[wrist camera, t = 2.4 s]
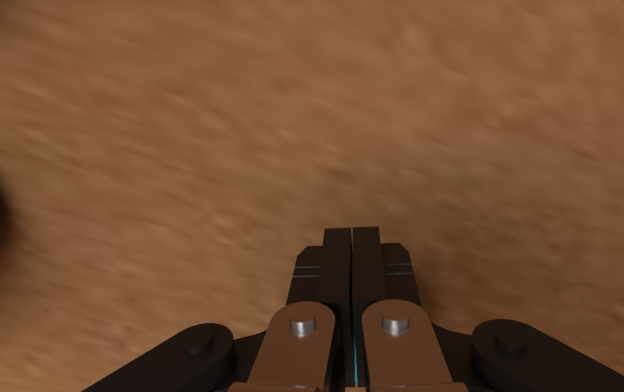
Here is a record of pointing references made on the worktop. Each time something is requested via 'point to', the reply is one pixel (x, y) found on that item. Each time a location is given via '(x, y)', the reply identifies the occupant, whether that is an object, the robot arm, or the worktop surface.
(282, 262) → the worktop surface
